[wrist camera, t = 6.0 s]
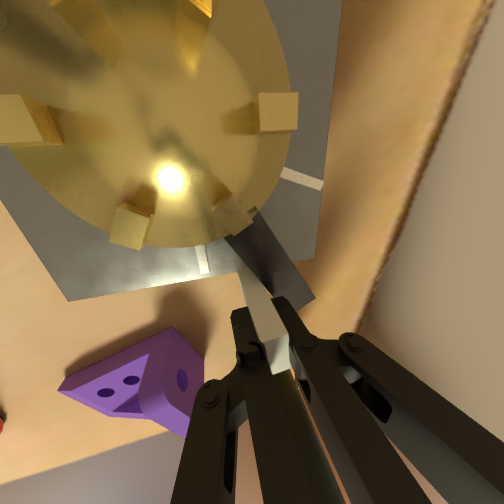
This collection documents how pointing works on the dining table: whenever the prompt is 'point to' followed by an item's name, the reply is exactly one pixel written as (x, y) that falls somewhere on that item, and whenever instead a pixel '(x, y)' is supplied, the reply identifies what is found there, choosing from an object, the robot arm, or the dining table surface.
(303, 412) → the wine bottle
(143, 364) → the bracket
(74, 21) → the gold tabbed disc
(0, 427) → the beer can
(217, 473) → the robot arm
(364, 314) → the dining table surface
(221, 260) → the plate
